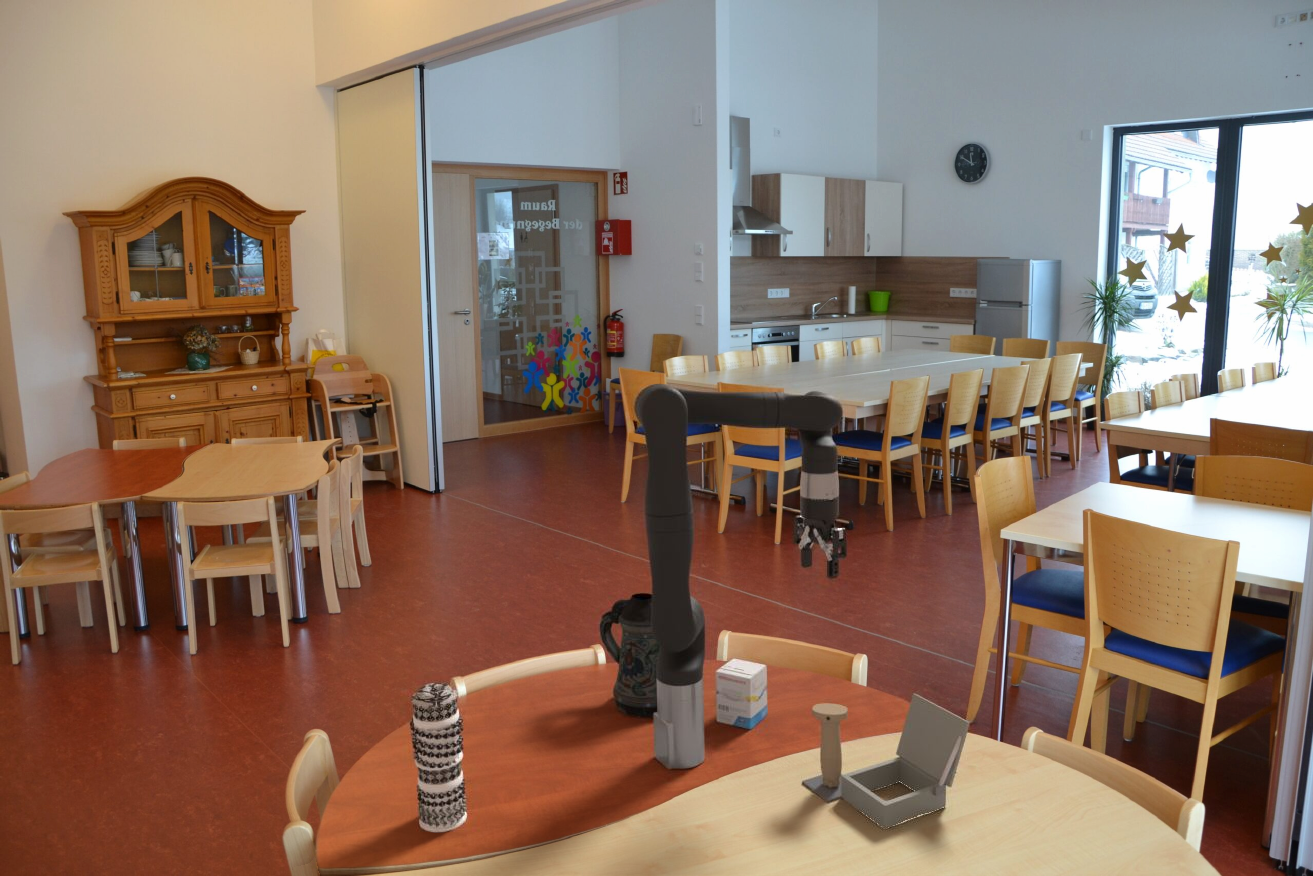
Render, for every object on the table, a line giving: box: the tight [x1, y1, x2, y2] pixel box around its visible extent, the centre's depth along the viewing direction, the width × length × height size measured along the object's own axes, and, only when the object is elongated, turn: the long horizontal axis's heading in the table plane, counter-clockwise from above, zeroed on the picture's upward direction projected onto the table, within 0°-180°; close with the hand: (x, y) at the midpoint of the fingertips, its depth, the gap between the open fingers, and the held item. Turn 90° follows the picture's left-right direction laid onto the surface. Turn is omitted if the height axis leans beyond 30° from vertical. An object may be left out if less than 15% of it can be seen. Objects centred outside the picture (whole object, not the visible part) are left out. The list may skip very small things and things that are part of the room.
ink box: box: [715, 658, 768, 730], centre depth 213 cm, size 8×8×12 cm
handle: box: [812, 702, 849, 788], centre depth 183 cm, size 5×6×15 cm
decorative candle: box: [409, 682, 468, 833], centre depth 175 cm, size 9×9×25 cm
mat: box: [801, 773, 843, 803], centre depth 184 cm, size 8×8×1 cm
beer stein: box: [599, 592, 660, 719], centre depth 221 cm, size 16×19×25 cm
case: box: [840, 693, 971, 830], centre depth 178 cm, size 18×14×16 cm
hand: (819, 572), depth 196 cm, fingers open, 8 cm apart
